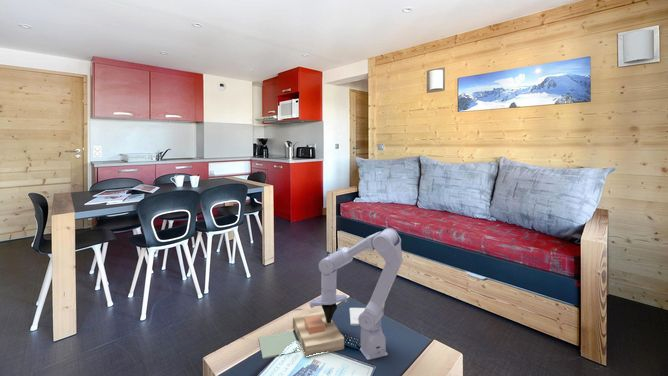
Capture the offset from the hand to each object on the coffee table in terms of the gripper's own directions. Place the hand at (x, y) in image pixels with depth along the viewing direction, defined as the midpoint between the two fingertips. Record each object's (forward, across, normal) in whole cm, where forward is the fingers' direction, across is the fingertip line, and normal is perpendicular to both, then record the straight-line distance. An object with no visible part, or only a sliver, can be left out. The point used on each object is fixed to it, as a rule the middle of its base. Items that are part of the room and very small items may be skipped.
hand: (328, 321), depth 119 cm
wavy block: (+5, +5, 0) cm, 7 cm away
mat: (+5, +19, 0) cm, 20 cm away
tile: (0, +6, 0) cm, 6 cm away
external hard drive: (+6, -16, -7) cm, 19 cm away
